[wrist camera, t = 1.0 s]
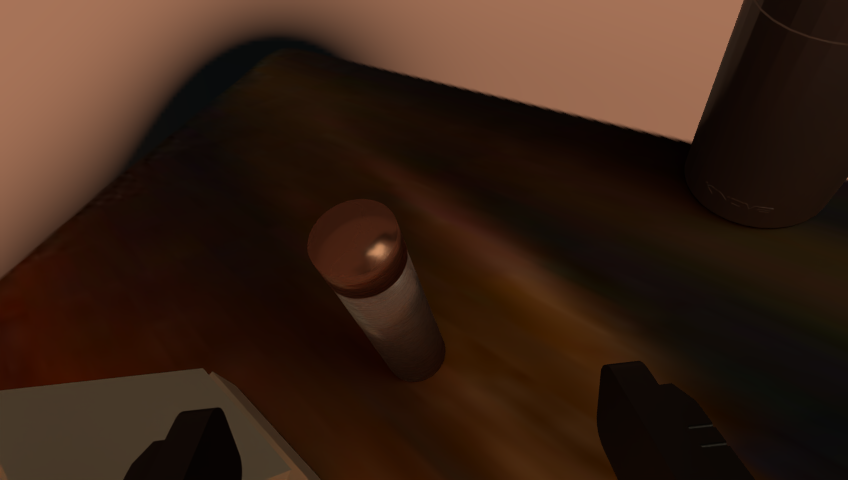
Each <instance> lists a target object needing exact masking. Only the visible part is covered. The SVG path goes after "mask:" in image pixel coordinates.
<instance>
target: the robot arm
mask: <svg viewBox="0 0 848 480" xmlns="http://www.w3.org/2000/svg"><path fill="white" fill-rule="evenodd" d="M684 175H685V179H686V183H687V185H688V187H689V189H690V191H691V192H692V194H693V195H694V196H695V197H696V198H697V200H698V201H699V202H700V203H701V204H702V205H704V206H705V207H706V208H708V209H709V210H710V211H712V212H713V213H715V214H717V215H719V216H721V217H723V218H725V219H727V220H730V221H733V222H736V223H739V224H742V225H747V226H752V227H760V228H779V227H788V226H792V225H795V224H799V223H802V222H804V221H806V220H808V219H810V218H812V217H814V216H815V215H816V214H817V213H819V212H820V211H821V210H822V209H823V208H824V207H825V205H826V204H827V203H828V202H829V200H830V199H831V198H832V197H833V195H834V194H835V193H836V191H837V190H838V189H839V188H840V186H841V185H842V184H843V183H844V181H845V180H846V179H847V178H848V0H744V1H743V4H742V7H741V10H740V13H739V15H738V18H737V21H736V23H735V26H734V29H733V32H732V35H731V37H730V40H729V43H728V46H727V48H726V51H725V54H724V57H723V59H722V62H721V65H720V68H719V70H718V73H717V76H716V79H715V82H714V84H713V87H712V90H711V93H710V95H709V98H708V101H707V103H706V106H705V109H704V112H703V115H702V117H701V120H700V122H699V125H698V128H697V131H696V133H695V136H694V139H693V142H692V145H691V148H690V150H689V153H688V156H687V159H686V162H685V168H684ZM597 427H598V433H599V437H600V440H601V443H602V446H603V449H604V451H605V453H606V455H607V457H608V459H609V461H610V464H611V466H612V468H613V470H614V472H615V474H616V476H617V479H618V480H755V479H754V478H753V476H752V475H751V474H750V472H749V471H748V470H747V468H746V467H745V466H744V464H743V463H742V462H741V460H740V459H739V458H738V456H737V455H736V454H735V452H734V451H733V450H732V448H731V447H730V446H727V444H726V440H725V439H724V438H723V436H722V435H721V434H720V432H719V431H718V430H717V428H716V427H713V425H712V422H711V420H710V419H709V418H708V416H707V415H706V414H705V412H704V411H703V410H702V408H701V407H700V406H699V404H698V403H697V402H696V401H695V400H694V399H693V398H691V397H690V396H688V395H687V394H686V393H684V392H683V391H682V390H680V389H679V388H677V387H676V386H675V385H673V384H672V383H671V384H663V385H659V384H658V383H657V381H656V380H655V378H654V377H653V375H652V374H651V373H650V371H649V370H648V368H647V367H646V366H645V364H644V363H643V362H641V361H634V362H625V363H616V364H607V365H604V366H603V367H602V369H601V376H600V387H599V398H598V409H597ZM123 480H242V462H241V457H240V454H239V451H238V448H237V446H236V443H235V440H234V438H233V435H232V432H231V430H230V427H229V424H228V421H227V419H226V416H225V414H224V411H223V410H222V409H221V408H219V407H216V408H207V409H198V410H189V411H182V412H180V413H179V414H178V415H177V417H176V418H175V420H174V422H173V424H172V426H171V428H170V430H169V432H168V434H167V436H166V438H165V440H159V441H153V442H152V443H151V444H150V445H149V447H148V448H147V449H146V450H145V451H144V452H143V453H142V454H141V455H140V456H139V457H138V458H137V459H136V460H135V461H134V462H133V463H132V464H131V466H130V468H129V470H128V471H127V473H126V475H125V477H124V479H123Z"/></svg>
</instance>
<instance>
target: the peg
mask: <svg viewBox="0 0 848 480" xmlns="http://www.w3.org/2000/svg"><path fill="white" fill-rule="evenodd" d="M307 249H308V254H309V257H310V260H311V261H312V263H313V264H314V266H315V267H316V269H317V270H318V271H319V273H320V274H321V275H322V277H323V278H324V280H325V281H326V282H327V284H328V285H329V286H330V288H331V289H332V290H333V291H334V292H335V293H336V294H337V296H338V297H339V298H340V300H341V301H342V303H343V304H344V305H345V307H346V308H347V310H348V311H349V312H350V314H351V315H352V317H353V318H354V319H355V321H356V322H357V323H358V325H359V326H360V328H361V329H362V330H363V332H364V333H365V335H366V336H367V337H368V339H369V340H370V342H371V343H372V344H373V346H374V347H375V348H376V350H377V351H378V353H379V354H380V355H381V357H382V358H383V360H384V361H385V362H386V364H387V365H388V366H389V368H390V369H391V371H392V372H393V373H394V374H395V375H396V376H397V377H399V378H400V379H402V380H405V381H409V382H418V381H423V380H426V379H428V378H430V377H431V376H433V375H434V374H435V373H436V372H437V371H438V370H439V369H440V367H441V365H442V364H443V361H444V358H445V344H444V341H443V338H442V336H441V333H440V331H439V328H438V326H437V323H436V321H435V318H434V316H433V313H432V311H431V308H430V306H429V303H428V301H427V298H426V296H425V293H424V291H423V288H422V286H421V283H420V281H419V279H418V276H417V274H416V271H415V269H414V266H413V264H412V261H411V259H410V256H409V254H408V251H407V247H406V243H405V241H404V238H403V236H402V233H401V231H400V228H399V226H398V223H397V221H396V218H395V216H394V215H393V213H392V212H391V211H390V209H389V208H387V207H386V206H385V205H383V204H381V203H379V202H377V201H374V200H369V199H355V200H350V201H346V202H343V203H340V204H338V205H336V206H334V207H332V208H331V209H329V210H328V211H327V212H325V213H324V214H323V215H322V216H321V217H320V218H319V219H318V220H317V222H316V223H315V224H314V226H313V228H312V230H311V232H310V234H309V238H308V243H307Z"/></svg>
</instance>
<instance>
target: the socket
mask: <svg viewBox="0 0 848 480" xmlns="http://www.w3.org/2000/svg"><path fill="white" fill-rule="evenodd" d="M216 407H219V408H221V409H222V410H223V411H224V414H225V416H226V419H227V421H228V424H229V427H230V430H231V432H232V435H233V438H234V440H235V443H236V446H237V448H238V451H239V454H240V457H241V462H242V480H321V479H320V478H319V477H318V476H317V475H316V474H315V473H314V472H313V471H312V469H311V468H310V467H309V466H308V465H307V464H306V463H305V462H304V461H303V459H302V458H301V457H300V456H299V455H298V454H297V453H296V452H295V451H294V450H293V448H292V447H291V446H290V445H289V444H288V443H287V442H286V441H285V440H284V438H283V437H282V436H281V435H280V434H279V433H278V432H277V431H276V430H275V429H274V427H273V426H272V425H271V424H270V423H269V422H268V421H267V420H266V419H265V417H264V416H263V415H262V414H261V413H260V412H259V411H258V410H257V409H256V408H255V406H254V405H253V404H252V403H251V402H250V401H249V400H248V399H247V398H246V396H245V395H244V394H243V393H242V392H241V391H240V390H239V389H238V388H237V387H236V386H235V385H234V384H232V383H231V382H229V381H227V380H226V379H224V378H222V377H221V376H219V375H218V374H216V373H214V372H212V373H211V374H210V375H208V374H207V372H206V371H205V370H204V369H203V368H201V369H192V370H182V371H173V372H164V373H155V374H146V375H137V376H128V377H119V378H110V379H101V380H92V381H83V382H74V383H65V384H56V385H47V386H38V387H29V388H20V389H11V390H2V391H0V480H123V479H124V477H125V475H126V473H127V471H128V470H129V468H130V466H131V464H132V463H133V462H134V461H135V460H136V459H137V458H138V457H139V456H140V455H141V454H142V453H143V452H144V451H145V450H146V449H147V448H148V447H149V445H150V444H151V443H152V442H153V441H159V440H165V438H166V436H167V434H168V432H169V430H170V428H171V426H172V424H173V422H174V420H175V418H176V417H177V415H178V414H179V413H180V412H182V411H189V410H198V409H207V408H216Z"/></svg>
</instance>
